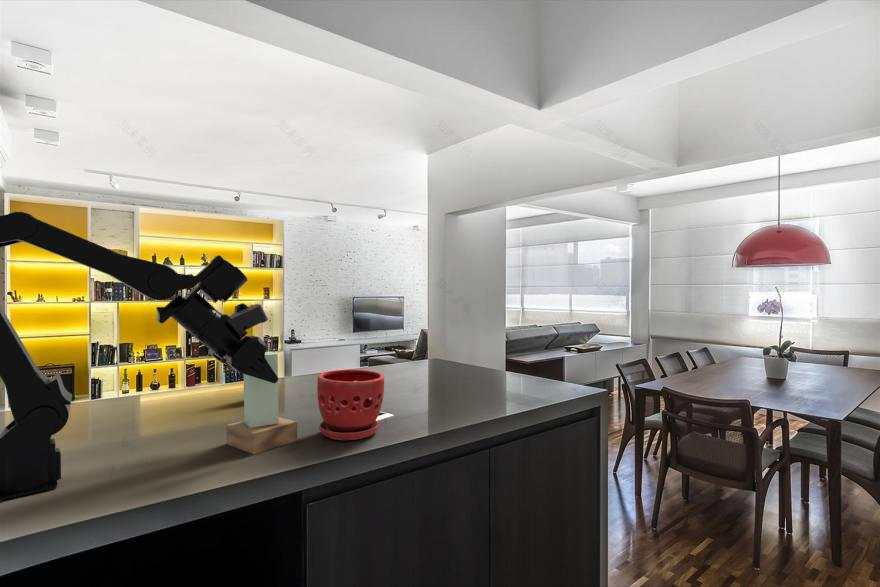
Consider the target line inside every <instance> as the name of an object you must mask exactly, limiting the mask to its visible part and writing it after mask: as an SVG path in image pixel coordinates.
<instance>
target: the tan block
mask: <svg viewBox="0 0 880 587" xmlns="http://www.w3.org/2000/svg"><path fill="white" fill-rule="evenodd" d="M225 429H226V445H227V446H231V447H233V448H236V449H238V450H241V451H244V452H247V453H249V454H253V455H256V454H259V453H262V452H266V451H269V450H272V449H275V448H278V447H282V446H285V445H287V444H291V443H294V442H297V441H298V421H296V420H292V419H288V418H284V417H281V416H279V423H278V424H272V425H267V426H261V427H255V428H250V427H249V426H248V425H247V424H246V423H245V422H244V420H241V421H237V422H232V423H228V424H226V428H225Z"/></svg>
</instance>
